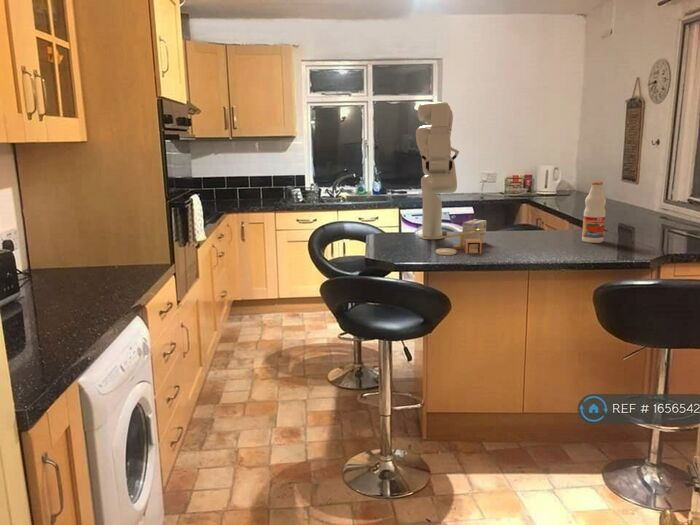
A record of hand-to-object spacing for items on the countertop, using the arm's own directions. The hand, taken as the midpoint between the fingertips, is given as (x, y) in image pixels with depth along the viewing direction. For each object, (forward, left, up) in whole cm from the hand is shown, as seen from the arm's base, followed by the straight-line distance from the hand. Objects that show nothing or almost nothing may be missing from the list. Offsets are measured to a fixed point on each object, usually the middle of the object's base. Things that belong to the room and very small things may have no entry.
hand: (438, 170), depth 259 cm
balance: (0, +11, -35) cm, 37 cm away
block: (+9, +15, -36) cm, 40 cm away
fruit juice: (-14, +74, -36) cm, 83 cm away
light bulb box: (-10, +18, -36) cm, 41 cm away
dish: (+11, +3, -35) cm, 37 cm away
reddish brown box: (+9, +15, -35) cm, 39 cm away
